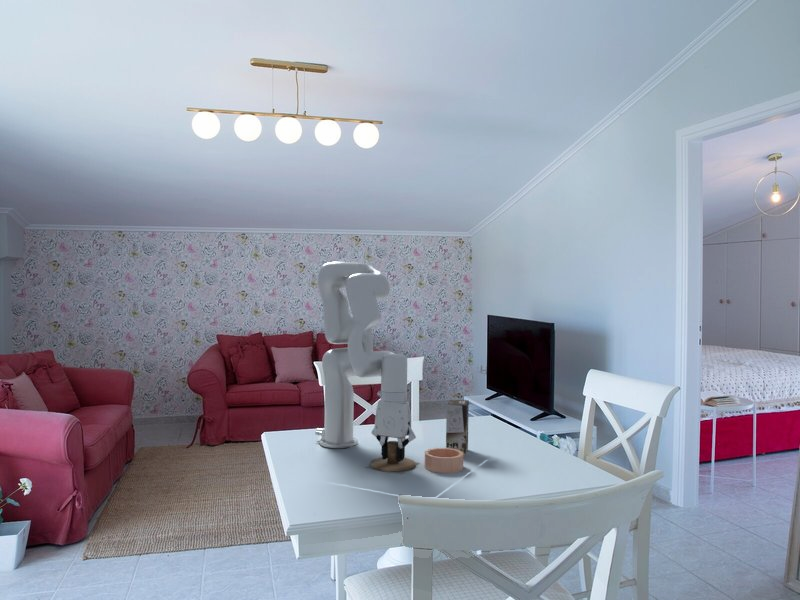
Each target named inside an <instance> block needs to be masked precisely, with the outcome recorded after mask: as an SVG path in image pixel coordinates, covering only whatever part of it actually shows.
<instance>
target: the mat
mask: <svg viewBox="0 0 800 600" xmlns="http://www.w3.org/2000/svg"><path fill="white" fill-rule="evenodd" d="M414 462H415V467H417V466H418V465H420V464H421V463H420V462H417V461H414ZM364 468H365V469H369V470H375V469H373V468H372V467H371V466H370V464H369V465H367V466H365V467H364ZM406 472H408V471H403V472H391V473H393V474H399V475H403V474H405V473H406Z"/></svg>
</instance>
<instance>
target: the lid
mask: <svg viewBox="0 0 800 600" xmlns="http://www.w3.org/2000/svg"><path fill="white" fill-rule="evenodd" d="M397 448H399V445H398V440H390V441H389V440H388V455H387V458H386V459H382V456H380V457H377V458H374V459H372V460H370V463H369V465H370V466H371V467H372V468H373V469H372V470H374V469H375V470H376V471H379V472H384V473H385V472H386V473H392V472H403V471H407V472H409V471H411V470H413V469H414V468H415V467H416V466H415V462H416V461H415V460H413V459H411V458H408V457H404V459H403V460H402V461H400V462H397Z"/></svg>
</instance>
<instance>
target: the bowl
mask: <svg viewBox="0 0 800 600" xmlns="http://www.w3.org/2000/svg"><path fill="white" fill-rule="evenodd" d="M423 455H424V458H423V459H424V461H423V462H424V465H423V466H424V469H425V470H428V471H430V472H433V473H439V474H452V473H453V474H454V473H458V472H461V471H462V470H464V457H465V456H464V454H463V452H462V451H459V450H456V449H450V448H446V447H434V448H433V447H432V448H428V449H427V450H425V451H424V454H423Z"/></svg>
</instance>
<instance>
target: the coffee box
mask: <svg viewBox="0 0 800 600" xmlns="http://www.w3.org/2000/svg"><path fill="white" fill-rule="evenodd" d="M469 404H470V403H469V400H466V399H449V401H448V402H447V404H446V420H445V422H446V423H445V425H446V426H445V448H450V449H456V450H459V451H462V452H463V454H464V457H466V455H467V453H468V450H469V411H470V410H469V407H470V405H469Z"/></svg>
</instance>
